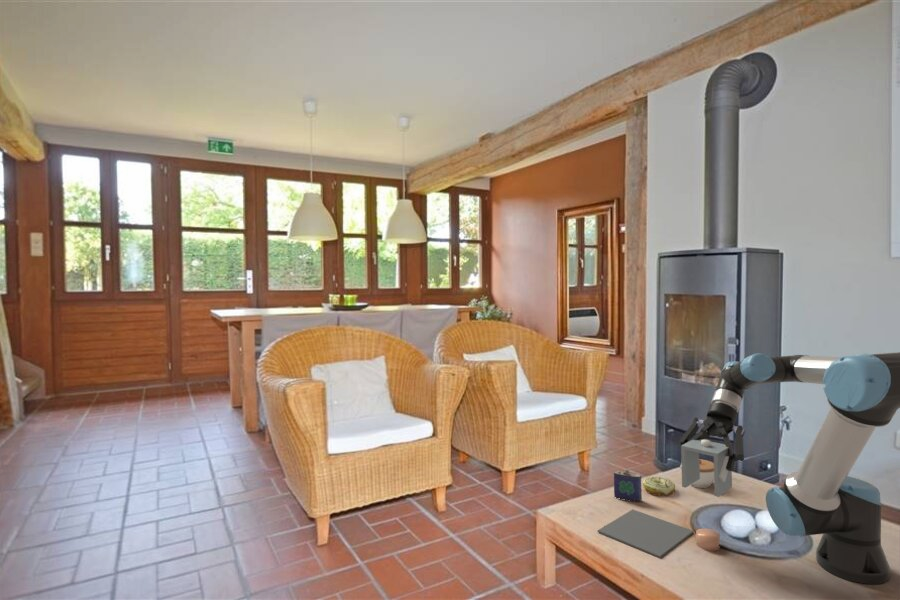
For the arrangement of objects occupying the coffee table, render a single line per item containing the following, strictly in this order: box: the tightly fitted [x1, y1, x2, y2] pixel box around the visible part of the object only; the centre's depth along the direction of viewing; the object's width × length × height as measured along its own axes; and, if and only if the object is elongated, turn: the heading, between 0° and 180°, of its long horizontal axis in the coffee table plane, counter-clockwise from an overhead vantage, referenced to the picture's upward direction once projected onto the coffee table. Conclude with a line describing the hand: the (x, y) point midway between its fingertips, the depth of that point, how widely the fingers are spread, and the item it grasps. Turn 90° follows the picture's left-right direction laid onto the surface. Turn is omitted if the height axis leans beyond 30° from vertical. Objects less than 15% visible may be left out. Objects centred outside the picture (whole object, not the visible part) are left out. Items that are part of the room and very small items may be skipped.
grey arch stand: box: [680, 438, 733, 498], centre depth 145 cm, size 10×9×13 cm
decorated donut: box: [642, 476, 676, 496], centre depth 184 cm, size 10×11×4 cm
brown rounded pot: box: [695, 528, 721, 552], centre depth 146 cm, size 6×6×4 cm
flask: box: [613, 468, 643, 503], centre depth 178 cm, size 9×3×11 cm, turn 61°
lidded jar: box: [691, 458, 714, 489], centre depth 187 cm, size 11×11×9 cm
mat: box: [597, 508, 694, 559], centre depth 155 cm, size 20×20×1 cm
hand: (701, 474), depth 143 cm, fingers closed on grey arch stand, 10 cm apart
